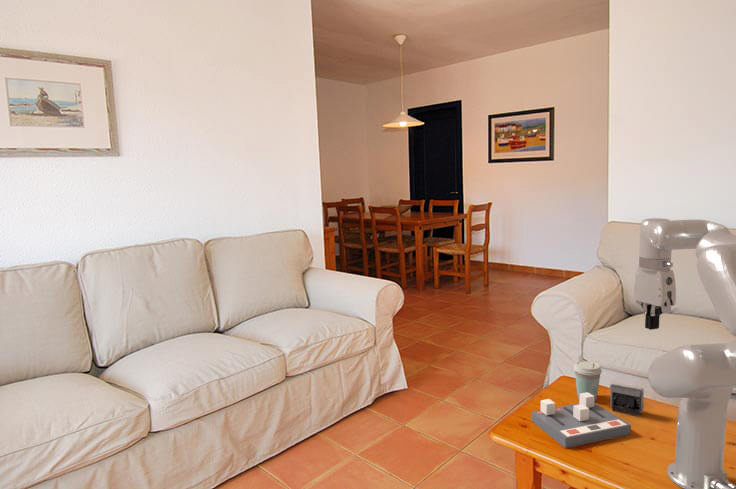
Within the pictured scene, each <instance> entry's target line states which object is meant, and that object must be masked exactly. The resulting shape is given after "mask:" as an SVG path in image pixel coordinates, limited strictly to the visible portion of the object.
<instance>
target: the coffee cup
mask: <svg viewBox="0 0 736 489" xmlns="http://www.w3.org/2000/svg"><path fill="white" fill-rule="evenodd" d="M573 370H574V375H575V385H576V394H577V399H578V400H579V395H580V393H586V392H588V393H590V394H592V395H593V396H594V403H596V402H597V397H598V394H599V393H598V391H599V385H600V379H601V374H602V372H603V371H602V368H601V365H600V364H599V363H597V362H595V361H591V360H579V361H576V362H575V364H574V366H573Z"/></svg>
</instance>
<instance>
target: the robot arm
mask: <svg viewBox="0 0 736 489" xmlns="http://www.w3.org/2000/svg"><path fill="white" fill-rule="evenodd" d="M639 231H640V232H639V250H638V251H639V254H638V266H637V269H636V273H635V278H634V284H633V285H634V288H633V296H634V299H635V303H636V304H637V305H639V306H641V309H642V310H643V313H644V315H645V319H644V321H645V322H644V329H648V330H650V331H652V330H658V329H659V328H660V317H661V316H662V315H663V314H664V313H669V312H672V306H675V305H676V303H677V302H676V301H677V288H676V278H675V273H674V270H672V268H673V266H674V264H673V262H672V251H677V250H695V256H696V258H697V262H696V265H697V266H696V267H697V272H698V276H699V279H700V280H701V282H702V286H703V287H704V289H705V291H706V293H707V295H708V297H709V299H710V301H711V303H712V305H713V307H714V309H715V311H716V312H715V313H716V314H717V316H718V318H719V320H720V322H721V323H722V325H723V327H724V328H725V330H727V332H729V333H730V334H731V335H732V336H734V337H736V235H735V234H733V233H732V232H731V231H730V229H729V228H728V227H727V226H726V225H724V224H722V223H717V222H713V221H710V220H704V219H676V220H670V219H668V218H660V217H658V218H655V217H654V218H652V217H651V218H646V219H643V220H642V221H641V222H640V230H639ZM647 380H648V383H649V385H650V387H651V388H652V390H653V391H654V392H655V393H656V394H657V395H658V396H660V397H662V398H666V399H681V400H680V402H679V403H678V404H679V405H678V406H677V408H678V409H677V419H676V441H675V459H674V462H671V463H670V464H669V465H668V466H667V467H666V468H667V470H666V471H667V476H668V477H669V479H670V480H671V481H672V482H673V483H674V484H676V485H677V486H679V487H680V488H682V489H736V484H734V483H732V482H730V481H729V479H728V472H727V471H725V470H724V454H725V442H726V425H727V413H728V406H729V402H730V399H731V396H732V393H733V390H734V389H736V340H735V341H731V342H726V343H725V342H723V343H721V342H720V343H719V342H718V343H700V344H699V343H698V344H687V345H683V346H679V347H676V348H674V349H672V350H670V351H669V352H666V353H664V354H662V355H660V356H658V357H656V358H655V359H654V360H652V361H651V363H650V365H649V368H648V371H647Z"/></svg>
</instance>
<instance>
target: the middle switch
mask: <svg viewBox="0 0 736 489" xmlns="http://www.w3.org/2000/svg"><path fill="white" fill-rule="evenodd" d="M573 417H574V418H576V419H577V420H579V421H584V420H589V408H587V407H586V406H584V405H583V404H580V405H574V406H573Z"/></svg>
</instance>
